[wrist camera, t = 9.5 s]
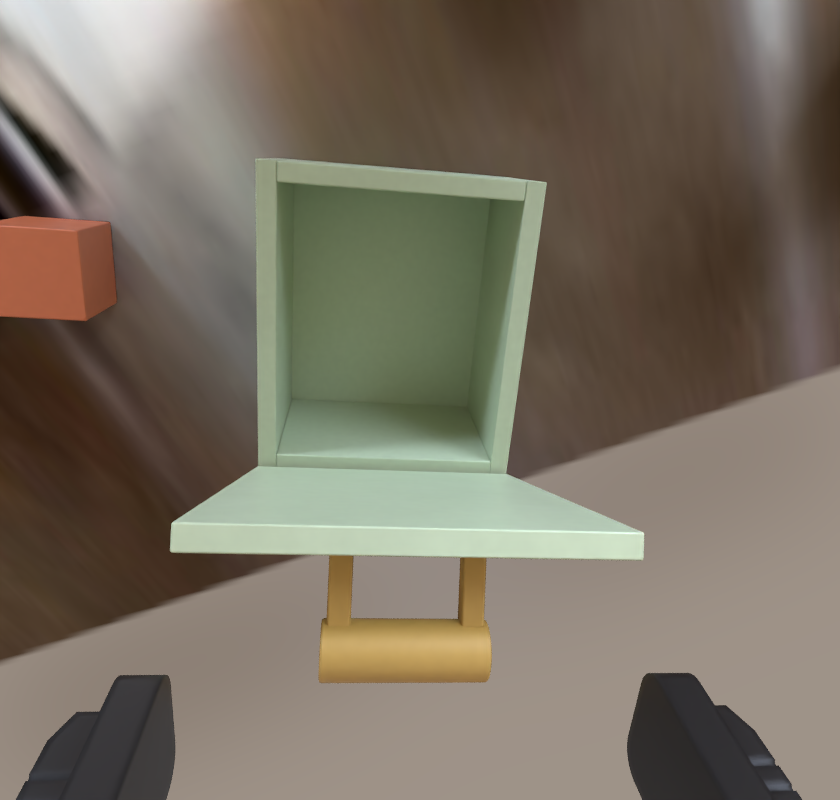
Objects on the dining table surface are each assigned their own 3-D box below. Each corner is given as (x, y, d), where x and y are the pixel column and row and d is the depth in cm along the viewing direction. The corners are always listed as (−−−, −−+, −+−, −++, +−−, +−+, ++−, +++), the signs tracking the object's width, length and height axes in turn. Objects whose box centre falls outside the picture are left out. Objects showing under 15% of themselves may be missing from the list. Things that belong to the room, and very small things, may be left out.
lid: (170, 522, 16) (161, 717, 16) (645, 532, 18) (638, 712, 18) (256, 466, 32) (252, 566, 32) (507, 473, 33) (503, 570, 33)
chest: (279, 158, 36) (254, 158, 27) (505, 176, 37) (547, 182, 29) (278, 406, 41) (257, 470, 32) (476, 414, 42) (505, 477, 34)
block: (24, 215, 35) (-23, 223, 31) (110, 221, 36) (77, 230, 32) (34, 297, 37) (-8, 316, 33) (117, 302, 38) (86, 321, 33)
